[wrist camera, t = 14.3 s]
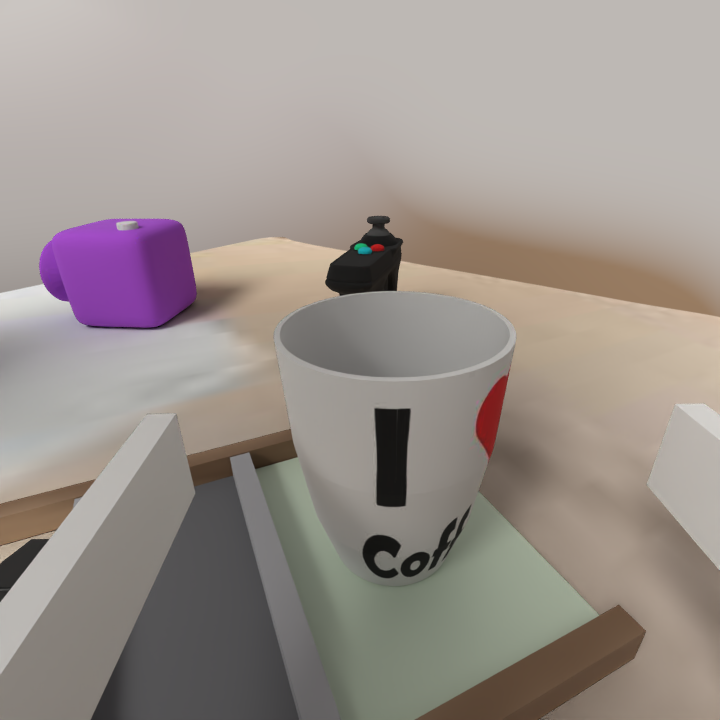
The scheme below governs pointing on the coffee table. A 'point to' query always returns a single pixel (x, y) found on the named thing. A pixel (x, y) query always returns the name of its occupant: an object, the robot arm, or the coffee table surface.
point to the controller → (368, 262)
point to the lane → (458, 715)
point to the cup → (394, 421)
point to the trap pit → (221, 622)
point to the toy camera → (121, 271)
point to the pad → (419, 608)
